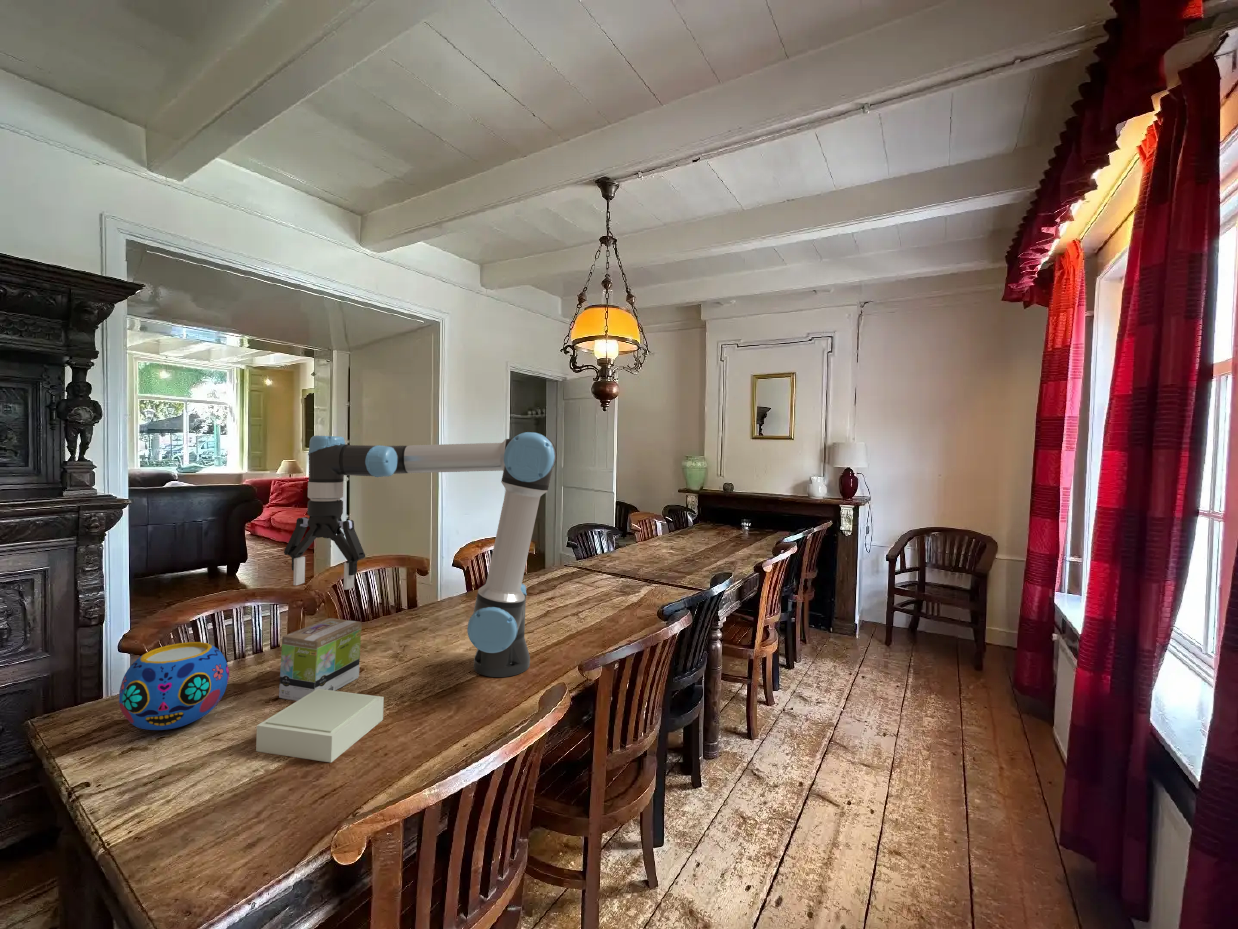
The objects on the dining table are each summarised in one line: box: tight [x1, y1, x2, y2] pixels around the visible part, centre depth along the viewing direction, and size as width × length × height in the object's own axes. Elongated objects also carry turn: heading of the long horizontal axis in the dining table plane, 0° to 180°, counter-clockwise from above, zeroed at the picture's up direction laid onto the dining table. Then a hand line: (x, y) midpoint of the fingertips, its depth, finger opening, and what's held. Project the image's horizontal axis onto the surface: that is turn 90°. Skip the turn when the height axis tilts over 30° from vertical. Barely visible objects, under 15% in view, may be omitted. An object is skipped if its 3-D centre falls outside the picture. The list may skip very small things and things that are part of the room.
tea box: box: [278, 617, 362, 702], centre depth 126 cm, size 15×10×15 cm
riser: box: [255, 689, 385, 763], centre depth 106 cm, size 16×16×5 cm
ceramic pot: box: [118, 641, 230, 731], centre depth 108 cm, size 18×18×15 cm
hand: (323, 586), depth 127 cm, fingers open, 13 cm apart
